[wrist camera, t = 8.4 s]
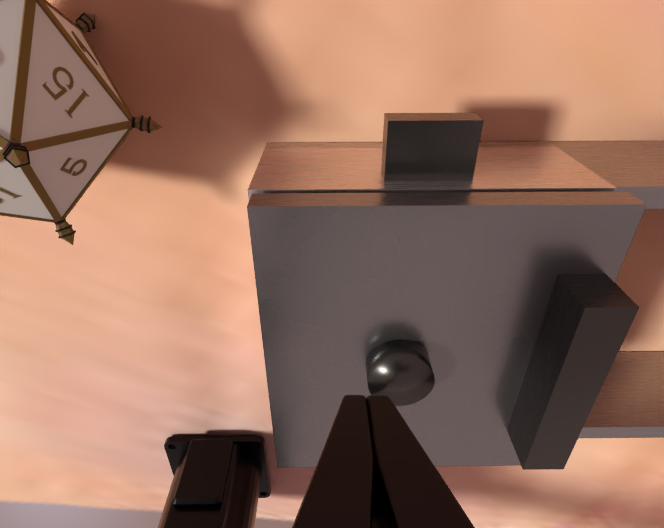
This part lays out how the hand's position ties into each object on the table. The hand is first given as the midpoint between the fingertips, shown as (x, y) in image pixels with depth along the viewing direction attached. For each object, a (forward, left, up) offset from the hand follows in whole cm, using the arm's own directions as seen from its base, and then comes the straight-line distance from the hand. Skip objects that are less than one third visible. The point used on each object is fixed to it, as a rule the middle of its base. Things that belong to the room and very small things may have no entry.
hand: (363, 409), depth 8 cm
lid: (-5, -3, -7) cm, 10 cm away
